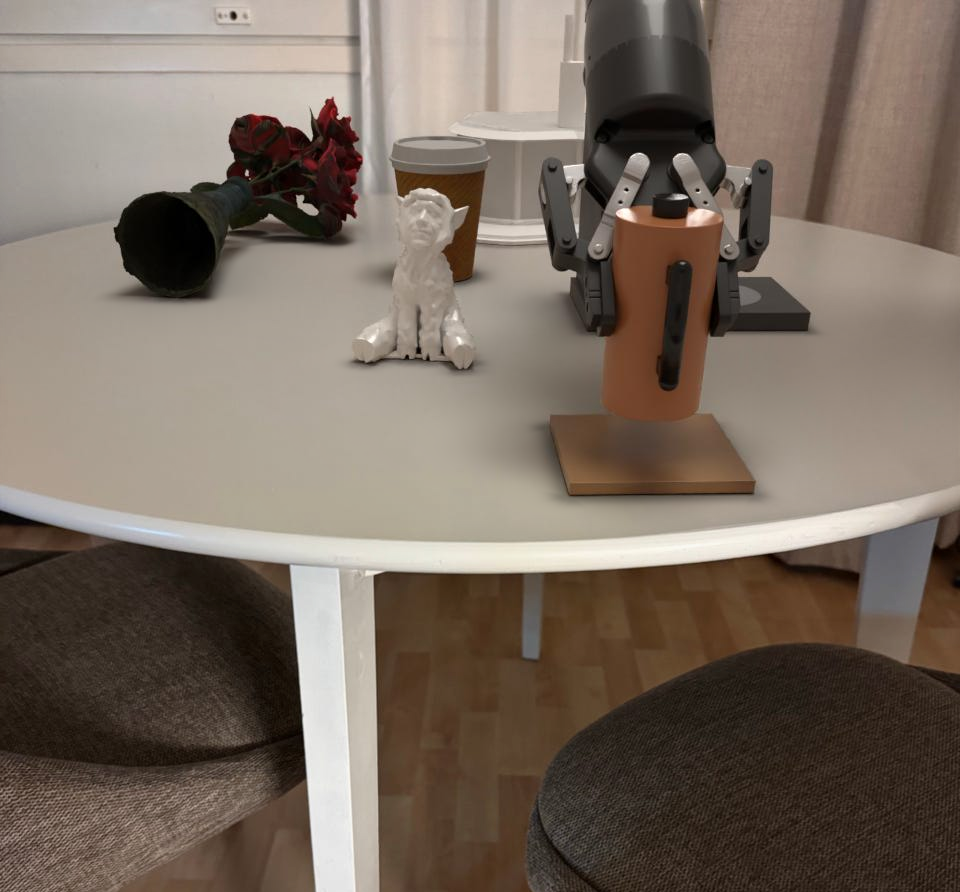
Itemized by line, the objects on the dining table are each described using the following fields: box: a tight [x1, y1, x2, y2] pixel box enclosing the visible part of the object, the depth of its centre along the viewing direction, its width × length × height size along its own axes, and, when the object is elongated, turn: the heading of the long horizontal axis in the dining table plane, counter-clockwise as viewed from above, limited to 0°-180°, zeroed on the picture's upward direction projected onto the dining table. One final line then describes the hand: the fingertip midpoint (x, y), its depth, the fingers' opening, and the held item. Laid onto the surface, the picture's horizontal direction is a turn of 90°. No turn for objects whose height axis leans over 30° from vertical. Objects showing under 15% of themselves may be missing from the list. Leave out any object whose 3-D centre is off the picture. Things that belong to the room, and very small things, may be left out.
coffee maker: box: [569, 9, 812, 332], centre depth 89 cm, size 19×12×23 cm, turn 93°
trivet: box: [548, 413, 757, 496], centre depth 67 cm, size 11×11×1 cm
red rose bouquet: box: [113, 95, 364, 299], centre depth 108 cm, size 16×18×35 cm
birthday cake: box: [447, 14, 586, 246], centre depth 122 cm, size 30×29×22 cm
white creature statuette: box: [351, 188, 477, 370], centre depth 82 cm, size 10×9×12 cm
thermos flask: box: [600, 193, 725, 422], centre depth 61 cm, size 6×8×12 cm
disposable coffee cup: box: [388, 135, 491, 283], centre depth 102 cm, size 10×10×12 cm
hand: (664, 329), depth 61 cm, fingers closed on thermos flask, 6 cm apart
